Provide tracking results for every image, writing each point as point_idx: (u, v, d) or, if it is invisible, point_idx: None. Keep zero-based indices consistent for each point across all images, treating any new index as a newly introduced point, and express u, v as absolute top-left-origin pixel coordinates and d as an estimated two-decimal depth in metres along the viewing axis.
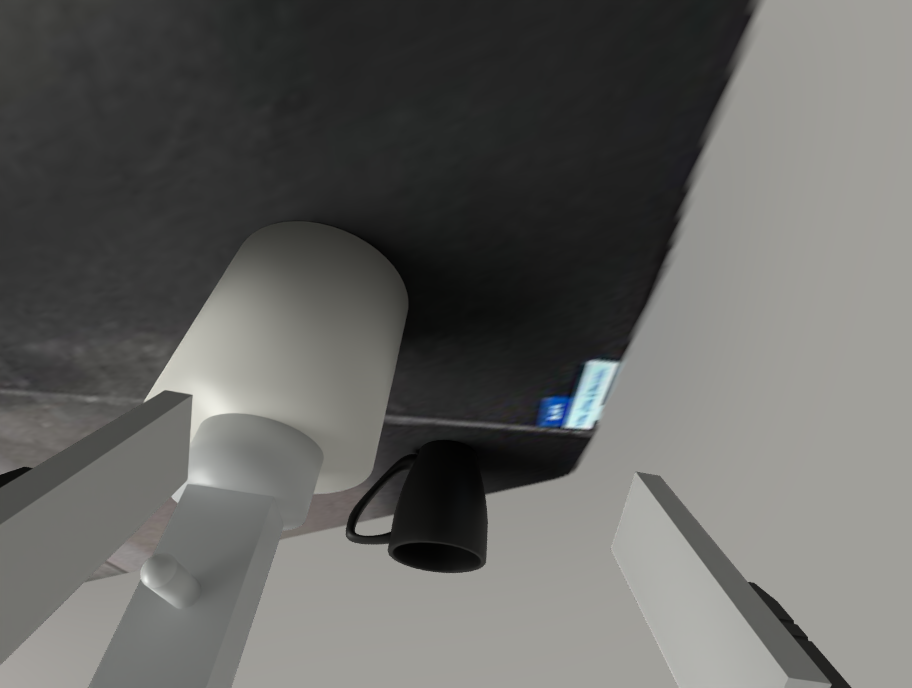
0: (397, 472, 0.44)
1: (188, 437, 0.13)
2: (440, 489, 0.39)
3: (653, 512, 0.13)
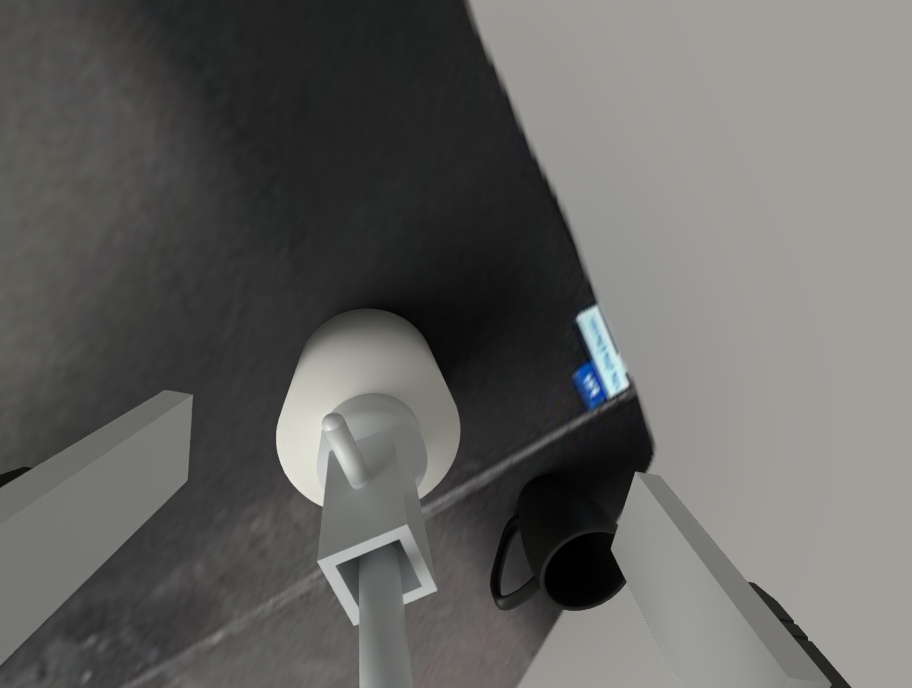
0: (511, 536, 0.44)
1: (188, 437, 0.13)
2: (548, 503, 0.40)
3: (653, 513, 0.13)
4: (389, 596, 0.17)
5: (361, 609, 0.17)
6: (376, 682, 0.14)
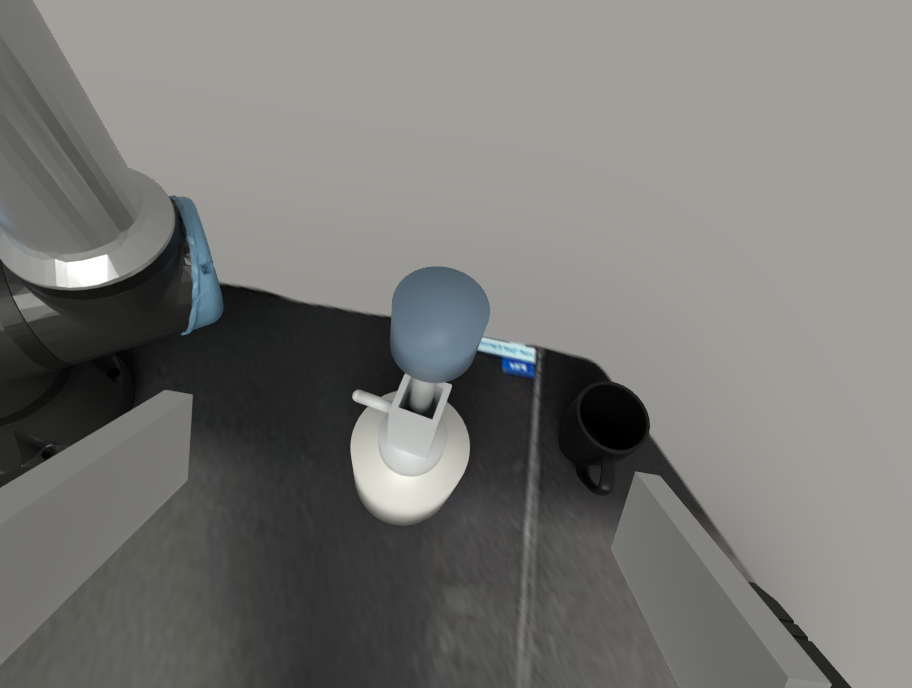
0: (584, 473, 0.54)
1: (188, 437, 0.13)
2: (563, 422, 0.54)
3: (653, 512, 0.13)
4: None
5: (413, 391, 0.33)
6: None
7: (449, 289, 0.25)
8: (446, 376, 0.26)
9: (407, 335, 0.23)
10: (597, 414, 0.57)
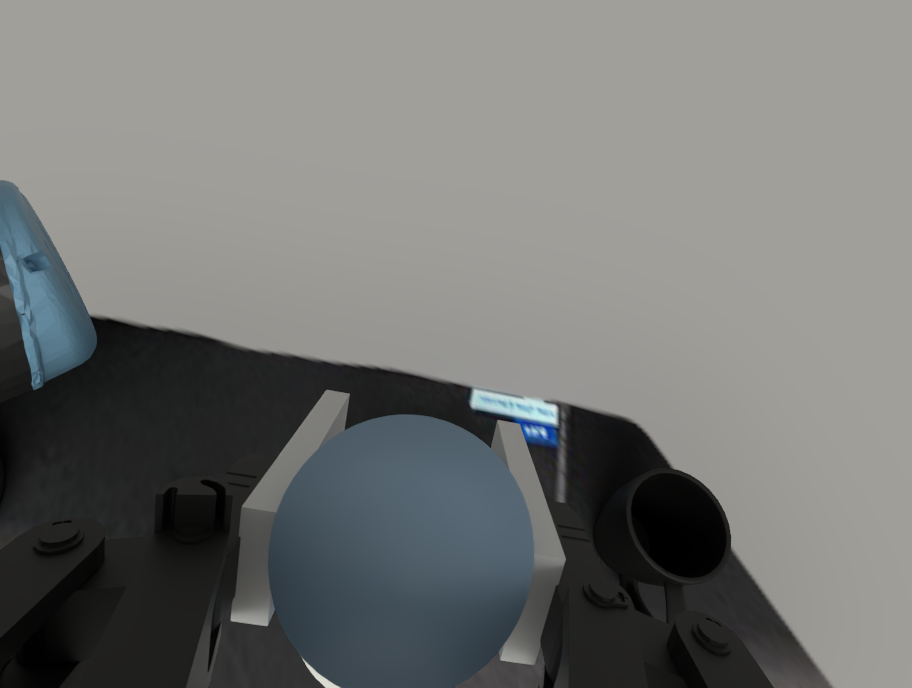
0: (633, 592, 0.39)
1: (342, 430, 0.16)
2: (604, 523, 0.38)
3: (499, 451, 0.14)
4: None
5: None
6: None
7: (427, 483, 0.10)
8: None
9: None
10: (646, 502, 0.42)
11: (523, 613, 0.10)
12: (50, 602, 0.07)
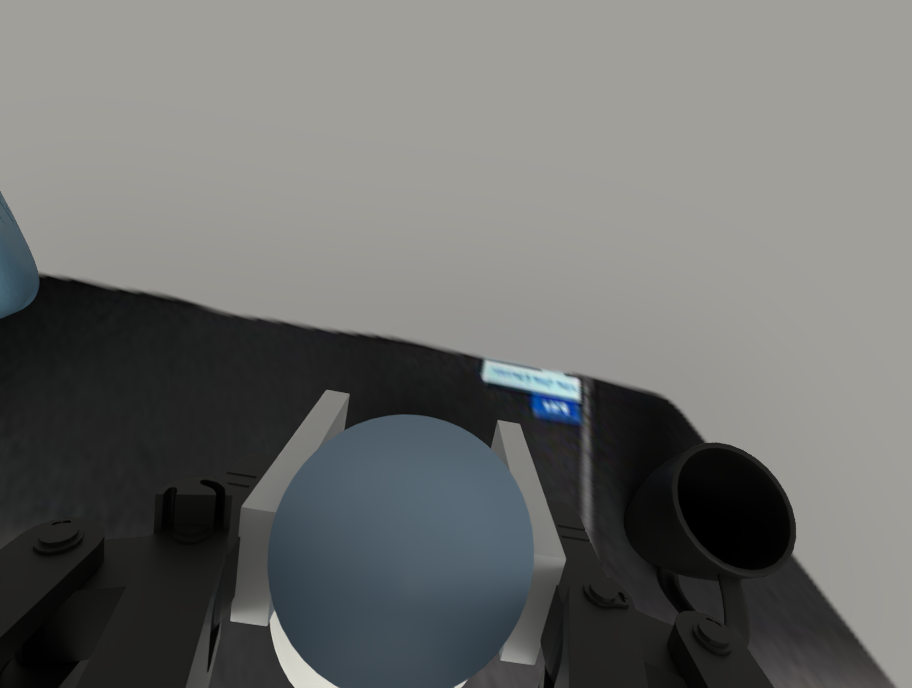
0: (675, 588, 0.33)
1: (342, 430, 0.16)
2: (641, 507, 0.33)
3: (499, 451, 0.14)
4: None
5: None
6: None
7: (427, 482, 0.10)
8: None
9: (303, 659, 0.08)
10: (686, 485, 0.37)
11: (523, 613, 0.10)
12: (49, 602, 0.07)
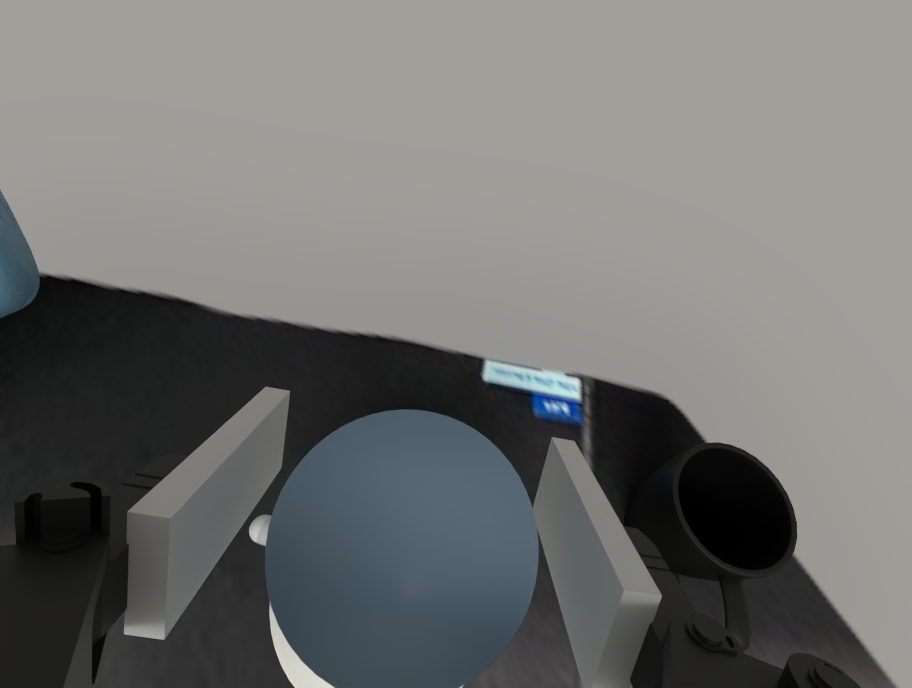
0: None
1: (284, 429, 0.15)
2: (641, 507, 0.33)
3: (559, 471, 0.14)
4: None
5: None
6: None
7: (429, 479, 0.09)
8: None
9: (300, 659, 0.08)
10: (686, 485, 0.37)
11: (613, 651, 0.09)
12: None
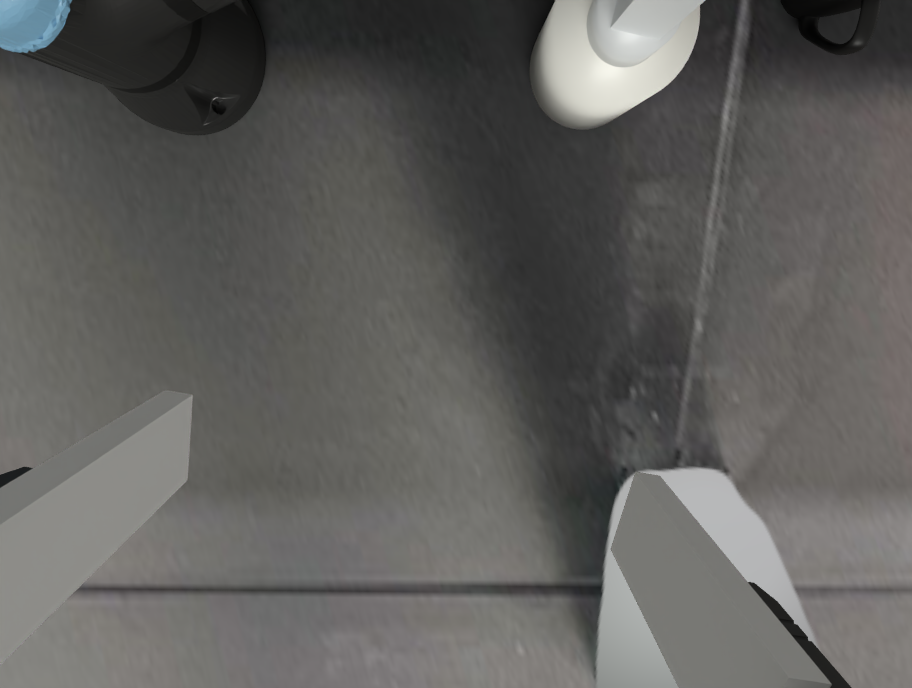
0: (814, 29, 0.43)
1: (188, 437, 0.13)
2: None
3: (652, 512, 0.13)
4: None
5: None
6: None
7: None
8: None
9: None
10: None
11: None
12: None
